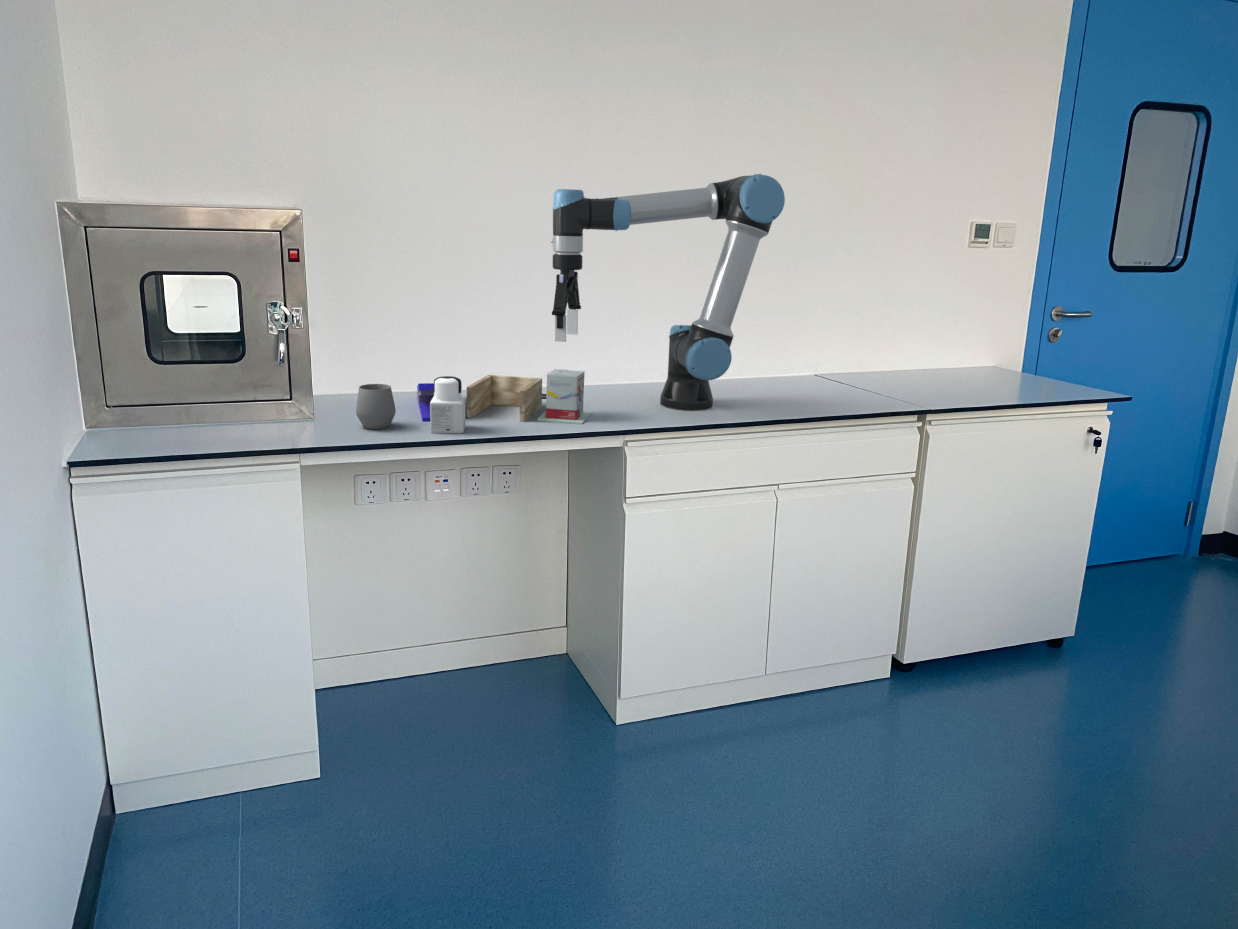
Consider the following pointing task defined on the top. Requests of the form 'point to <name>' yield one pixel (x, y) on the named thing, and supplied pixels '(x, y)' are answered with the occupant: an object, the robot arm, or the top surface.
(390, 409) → the cup
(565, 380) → the ink box
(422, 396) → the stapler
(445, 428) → the container
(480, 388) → the u-shaped enclosure
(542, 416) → the mat
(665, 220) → the robot arm
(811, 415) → the top surface
